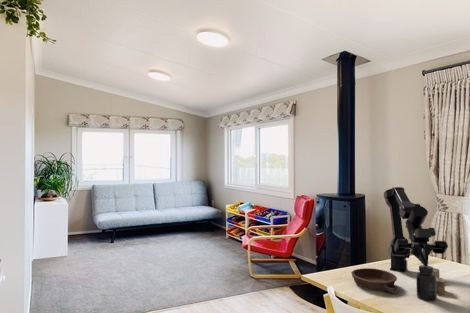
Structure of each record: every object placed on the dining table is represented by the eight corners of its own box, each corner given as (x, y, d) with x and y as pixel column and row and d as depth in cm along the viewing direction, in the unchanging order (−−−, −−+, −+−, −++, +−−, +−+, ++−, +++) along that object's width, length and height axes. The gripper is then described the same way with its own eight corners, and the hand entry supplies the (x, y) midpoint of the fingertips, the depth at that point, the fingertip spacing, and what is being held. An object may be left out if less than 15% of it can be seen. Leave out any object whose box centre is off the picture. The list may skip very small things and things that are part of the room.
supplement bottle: (434, 295, 135) (434, 265, 136) (438, 302, 129) (438, 270, 129) (415, 293, 138) (414, 263, 138) (418, 300, 131) (417, 268, 131)
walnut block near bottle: (430, 292, 139) (430, 280, 139) (428, 288, 143) (428, 276, 143) (444, 294, 137) (444, 281, 137) (442, 290, 141) (442, 277, 141)
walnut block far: (422, 280, 153) (422, 268, 153) (427, 277, 156) (427, 266, 156) (435, 283, 149) (435, 271, 149) (439, 280, 152) (439, 269, 152)
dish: (366, 274, 160) (366, 264, 160) (410, 290, 141) (410, 278, 141) (339, 281, 152) (339, 270, 152) (382, 299, 133) (382, 286, 133)
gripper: (396, 219, 140) (405, 254, 129) (445, 220, 137) (459, 256, 126) (390, 234, 148) (399, 268, 137) (437, 236, 145) (449, 270, 134)
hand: (426, 265), depth 133 cm, fingers closed
